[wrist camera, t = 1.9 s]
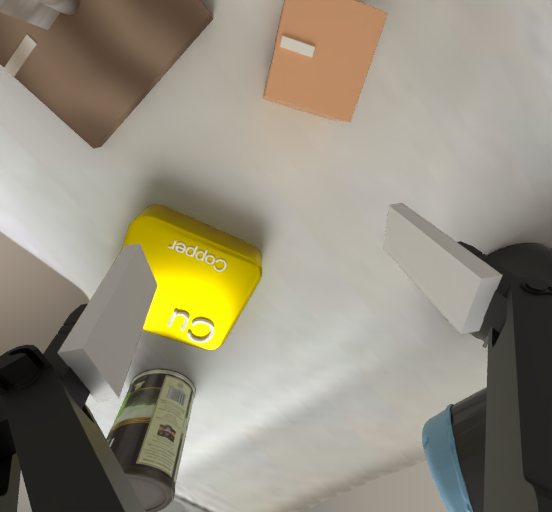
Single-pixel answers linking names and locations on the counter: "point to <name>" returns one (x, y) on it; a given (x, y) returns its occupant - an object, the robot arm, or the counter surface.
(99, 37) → the board
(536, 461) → the robot arm
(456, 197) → the counter surface
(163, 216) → the element tile
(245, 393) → the counter surface
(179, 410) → the coffee can
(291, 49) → the orange cube
